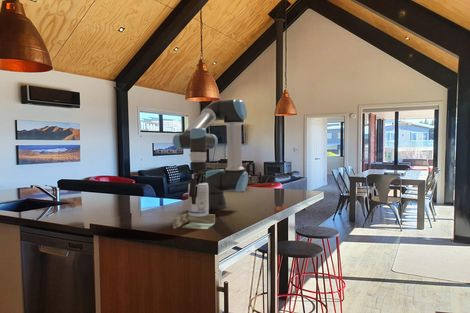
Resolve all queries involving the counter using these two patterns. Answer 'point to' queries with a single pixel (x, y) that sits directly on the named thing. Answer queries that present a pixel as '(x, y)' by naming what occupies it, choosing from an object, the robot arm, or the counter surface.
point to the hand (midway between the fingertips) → (198, 209)
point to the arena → (194, 221)
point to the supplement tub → (200, 200)
